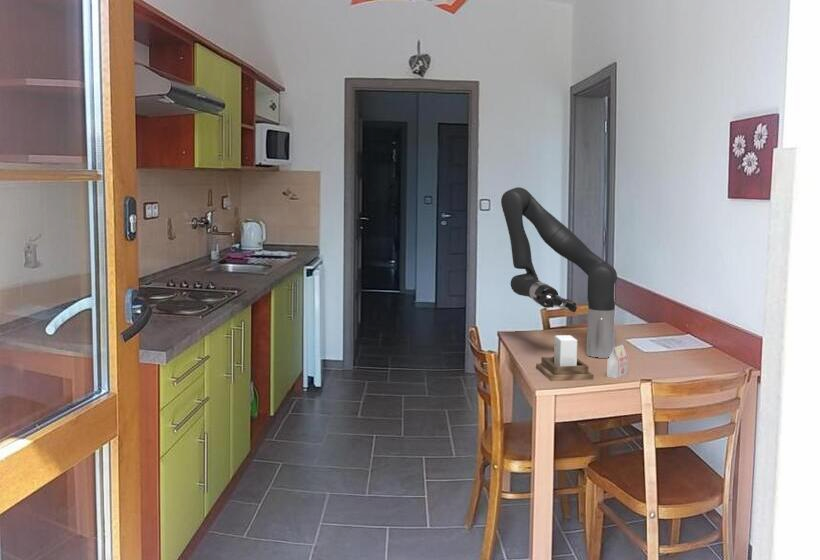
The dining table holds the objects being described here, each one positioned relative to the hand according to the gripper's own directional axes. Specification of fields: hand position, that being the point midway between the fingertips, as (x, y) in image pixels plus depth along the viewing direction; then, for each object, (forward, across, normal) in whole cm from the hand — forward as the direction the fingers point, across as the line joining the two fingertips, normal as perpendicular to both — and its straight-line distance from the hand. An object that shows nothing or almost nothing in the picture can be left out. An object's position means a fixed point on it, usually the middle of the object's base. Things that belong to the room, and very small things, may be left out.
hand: (564, 307), depth 245 cm
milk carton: (+18, +16, +16) cm, 29 cm away
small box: (+11, +1, +18) cm, 21 cm away
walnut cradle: (+11, +1, +20) cm, 23 cm away
